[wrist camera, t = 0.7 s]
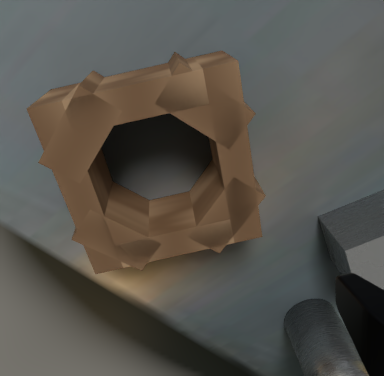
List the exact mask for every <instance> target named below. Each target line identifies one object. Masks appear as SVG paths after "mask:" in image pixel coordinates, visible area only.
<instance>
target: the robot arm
mask: <svg viewBox="0 0 384 376" xmlns="http://www.w3.org/2000/svg"><path fill="white" fill-rule="evenodd" d="M335 288H336V305H337V308H338V311H339V313H340V315H341V317H342V319H343V322H344V324H345V326H346V328H347V330H348V332H349V335H350V337H351V339H352V341H353V343H354V345H355V348H356V350H357V352H358V354H359V356H360V358H361V361H362V363H363V365H364V367H365V369H366V371H367V373H368V374H369V376H384V290H383V289H381V288H380V287H378V286H376V285H374V284H373V283H371V282H369V281H367V280H366V279H364V278H362V277H360V276H358V275H357V274H354V273H348V274H343V275H339V276H337V277H336V280H335Z"/></svg>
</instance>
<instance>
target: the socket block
mask: <svg viewBox="0 0 384 376" xmlns="http://www.w3.org/2000/svg"><path fill="white" fill-rule="evenodd" d="M27 111H28V113H29V116H30V118H31V121H32V123H33V125H34V128H35V130H36V133H37V135H38V137H39V140H40V142H41V145H42V147H43V149H44V153H43V155H42V157H41V159H40V160H39V162H38V163H40V164H42V165H44V166H46V167H48V168H50V169H52V171H53V173H54V176H55V178H56V181H57V183H58V185H59V188H60V190H61V193H62V195H63V197H64V200H65V202H66V204H67V207H68V209H69V212H70V214H71V216H72V219H73V221H74V224H75V226H76V228H75V231H74V234H73V237H72V240H73V241H76V242H78V243H80V244H82V245H84V248H85V250H86V252H87V255H88V257H89V260H90V262H91V264H92V267H93V269H94V272H95V274H98V273H103V272H107V271H112V270H116V269H121V268H125V267H130V266H132V267H134V268H136V269H139V270H141V271H142V270H143V268H144V267H145V266H146V264H147V263H148V262H152V261H156V260H161V259H165V258H170V257H174V256H179V255H183V254H188V253H192V252H196V251H201V250H205V249H212V250H214V251H216V252H218V253H220V252H221V251H222V250H223V249H224V247H225V246H226V245H228V244H232V243H237V242H241V241H246V240H250V239H254V238H259V237H262V231H261V224H260V216H259V209H258V205H259V204H260V203H261V201H262V200H263V199H264V198H265V196H266V195H265V194H264V192H263V190H262V189H261V187H260V185H259V184H258V182H257V180H256V179H255V177H254V173H253V165H252V158H251V151H250V143H249V136H248V129H247V125H248V124H249V122H250V121H251V119H252V118H253V117H254V115H255V114H256V113H255V112H254V111H253V110H252V109H251V108H250V107H249V106H248V105H247V104H246V103H245V102H244V100H243V92H242V85H241V78H240V71H239V63H238V60H236V59H234V58H233V57H231V56H230V55H228V54H226V53H225V52H223V51H218V52H214V53H210V54H205V55H201V56H196V57H192V58H188V59H184V58H183V57H182V56H180V55H179V54H177V53H176V52H174V54H173V56H172V57H171V59H170V61H169V62H168V63H166V64H161V65H157V66H152V67H148V68H144V69H139V70H135V71H130V72H126V73H122V74H117V75H113V76H108V77H103V76H101V75H100V74H98V73H97V72H95V71H92V72H91V73H90V74H89V75H88V76H87V77H86V78H85V79H84V80H83V81H82V82H81V83H78V84H73V85H69V86H64V87H60V88H56V89H51V90H50V91H48V92H47V93H46V94H45V95H43V96H42V97H41V98H40V99H38V100H37V101H36V102H35V103H33V104H32V105H31V106H29V107H28V108H27ZM168 113H170V114H172V115H174V116H175V117H177V118H179V119H180V120H182V121H183V122H185V123H187V124H188V125H190V126H191V127H193V128H195V129H196V130H198V131H200V132H201V133H203V134H204V135H206V136H208V137H209V142H210V147H211V152H212V158H213V159H212V161H211V162H210V163H209V165H208V166H207V168H206V169H205V170H204V172H203V173H202V175H201V176H200V177H199V179H198V180H197V182H196V183H195V184H194V186H193V187H192V189H191V190H190V191H189V192H185V193H180V194H176V195H171V196H167V197H162V198H158V199H154V200H148V199H146V198H144V197H142V196H140V195H138V194H136V193H134V192H132V191H130V190H128V189H126V188H124V187H122V186H121V185H119V184H117V183H115V182H113V181H112V178H111V175H110V172H109V169H108V166H107V163H106V160H105V158H104V155H103V152H102V149H101V147H102V145H103V143H104V141H105V140H106V138H107V136H108V135H109V133H110V131H111V129H112V128H113V126H115V125H119V124H124V123H128V122H132V121H137V120H141V119H146V118H150V117H154V116H159V115H163V114H168Z"/></svg>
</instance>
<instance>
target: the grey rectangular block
mask: <svg viewBox="0 0 384 376" xmlns="http://www.w3.org/2000/svg"><path fill="white" fill-rule="evenodd" d="M318 219H319V222H320V225H321V228H322V232H323V235H324V238H325V241H326V245H327V248H328V251H329V254H330V257H331V261H332V262H333V263H334V265H335V266H336V268H337V269H338V270H339V272H340V273H341V275H343V274H348V273H354V274H357V275H358V276H360V277H362V278H364V279H366V280H367V281H369V282H371V283H373V284H374V285H376V286H378V287H380V288H381V289H383V290H384V190H382V191H379V192H377V193H374V194H372V195H370V196H367V197H365V198H362V199H360V200H357V201H355V202H352V203H350V204H347V205H345V206H342V207H340V208H337V209H335V210H332V211H330V212H327V213H325V214H322V215H320V216H318Z"/></svg>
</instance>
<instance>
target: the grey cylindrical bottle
mask: <svg viewBox="0 0 384 376" xmlns="http://www.w3.org/2000/svg"><path fill="white" fill-rule="evenodd" d="M284 327H285V329H286V331H287V334H288V336H289V339H290V341H291V344H292V346H293V348H294V351H295V353H296V356H297V358H298V361H299V363H300V365H301V368H302V370H303V373H304V375H305V376H369V374H368V373H367V371H366V369H365V367H364V365H363V363H362V361H361V358H360V356H359V354H358V352H357V350H356V348H355V345H354V343H353V341H352V339H351V337H350V335H349V332H348V331H347V329H346V327H345V326H344V324H343V322H342V321H341V319H340V317H339V316H338V314H337V312H336V311H335V309H334V307H333V306H332V305H331V304H330V303H329V302H327V301H325V300H322V299H308V300H305V301H302V302H300V303H298V304H296V305H295V306H293V307H292V308H291V309H290V310H289V311H288V313H287V314H286V316H285V319H284Z"/></svg>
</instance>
